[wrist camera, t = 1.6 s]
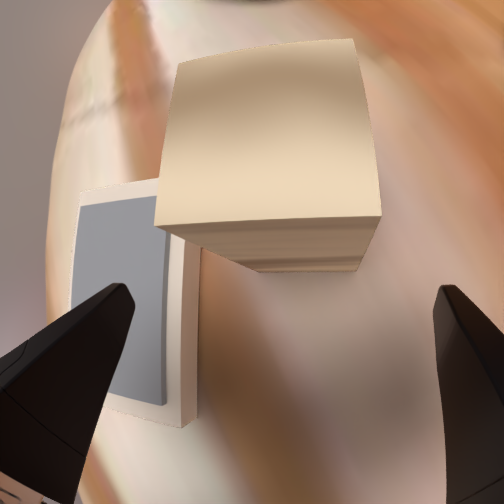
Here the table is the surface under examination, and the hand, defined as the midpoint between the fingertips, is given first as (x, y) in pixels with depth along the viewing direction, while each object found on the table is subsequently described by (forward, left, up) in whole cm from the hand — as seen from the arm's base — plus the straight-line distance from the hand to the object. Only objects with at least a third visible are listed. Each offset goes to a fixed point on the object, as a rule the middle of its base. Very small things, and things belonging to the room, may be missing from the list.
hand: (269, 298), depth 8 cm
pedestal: (0, +12, -11) cm, 16 cm away
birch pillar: (+5, 0, -11) cm, 12 cm away
